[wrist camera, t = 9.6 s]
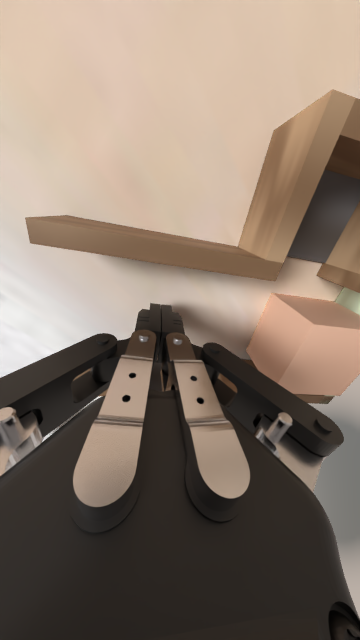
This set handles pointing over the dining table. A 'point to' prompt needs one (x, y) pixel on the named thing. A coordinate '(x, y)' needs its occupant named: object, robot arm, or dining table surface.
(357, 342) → the block
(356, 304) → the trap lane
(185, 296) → the dining table surface
